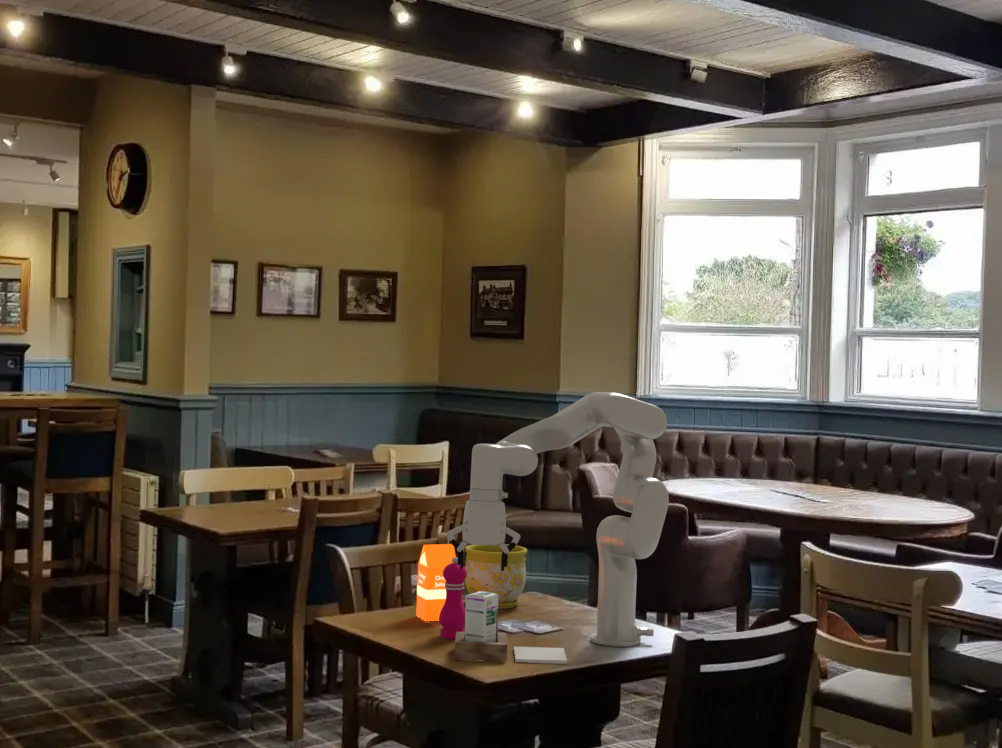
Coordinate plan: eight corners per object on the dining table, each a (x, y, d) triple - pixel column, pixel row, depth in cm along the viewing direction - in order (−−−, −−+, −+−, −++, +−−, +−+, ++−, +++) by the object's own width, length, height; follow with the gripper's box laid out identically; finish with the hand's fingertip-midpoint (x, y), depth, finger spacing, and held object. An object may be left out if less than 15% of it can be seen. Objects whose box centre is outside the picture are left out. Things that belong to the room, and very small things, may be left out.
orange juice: (415, 616, 305) (418, 542, 306) (446, 614, 309) (449, 541, 309) (425, 622, 298) (427, 546, 298) (456, 620, 302) (459, 546, 302)
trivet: (563, 651, 271) (563, 648, 271) (567, 664, 259) (567, 660, 259) (513, 649, 271) (513, 646, 271) (515, 662, 259) (515, 658, 259)
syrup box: (484, 659, 261) (486, 596, 261) (463, 655, 264) (465, 593, 264) (497, 654, 266) (499, 593, 266) (476, 650, 269) (478, 590, 269)
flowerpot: (506, 613, 313) (508, 554, 313) (451, 605, 321) (453, 548, 321) (536, 603, 328) (538, 547, 328) (482, 596, 337) (484, 541, 337)
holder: (505, 649, 271) (506, 633, 271) (506, 662, 259) (507, 644, 259) (455, 648, 271) (456, 631, 271) (454, 660, 259) (455, 643, 259)
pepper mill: (463, 641, 278) (466, 560, 278) (435, 638, 280) (437, 558, 280) (469, 634, 285) (472, 555, 286) (442, 632, 287) (445, 554, 287)
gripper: (521, 496, 269) (518, 568, 269) (449, 493, 268) (445, 564, 268) (523, 499, 261) (519, 573, 261) (448, 496, 261) (444, 569, 261)
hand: (482, 569), depth 265 cm, fingers open, 9 cm apart
